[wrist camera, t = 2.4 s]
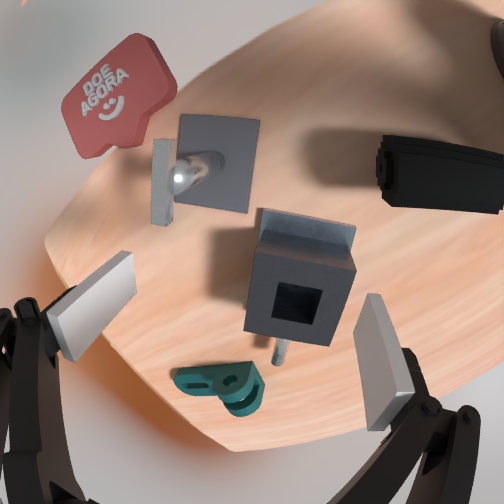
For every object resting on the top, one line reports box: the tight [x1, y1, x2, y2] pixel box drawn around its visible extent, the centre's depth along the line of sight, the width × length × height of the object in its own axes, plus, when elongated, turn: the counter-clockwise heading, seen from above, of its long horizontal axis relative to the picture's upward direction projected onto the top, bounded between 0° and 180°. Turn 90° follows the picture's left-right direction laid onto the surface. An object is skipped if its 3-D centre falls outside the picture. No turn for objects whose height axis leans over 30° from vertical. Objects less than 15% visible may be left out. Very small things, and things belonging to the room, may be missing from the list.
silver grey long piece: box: [151, 139, 225, 227], centre depth 27 cm, size 7×3×14 cm, turn 173°
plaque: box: [61, 33, 177, 159], centre depth 31 cm, size 18×4×15 cm
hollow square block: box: [243, 208, 357, 366], centre depth 36 cm, size 22×12×8 cm, turn 173°
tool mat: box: [175, 114, 260, 214], centre depth 34 cm, size 12×10×1 cm
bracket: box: [174, 361, 265, 417], centre depth 47 cm, size 18×7×8 cm, turn 111°
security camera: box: [376, 135, 504, 215], centre depth 25 cm, size 7×18×10 cm, turn 94°
